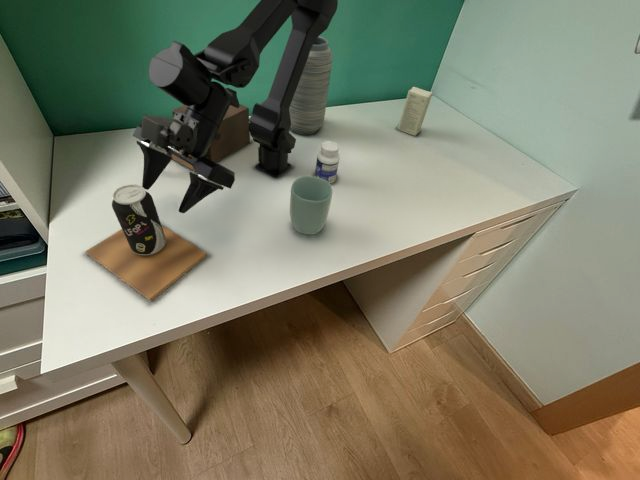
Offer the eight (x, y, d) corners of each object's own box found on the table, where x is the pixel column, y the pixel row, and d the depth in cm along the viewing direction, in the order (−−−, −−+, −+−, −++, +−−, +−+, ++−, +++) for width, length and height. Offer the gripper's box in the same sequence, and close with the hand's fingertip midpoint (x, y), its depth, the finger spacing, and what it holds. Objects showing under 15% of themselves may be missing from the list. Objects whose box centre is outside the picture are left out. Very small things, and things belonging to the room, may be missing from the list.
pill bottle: (313, 170, 82) (317, 138, 75) (334, 171, 82) (340, 140, 76) (315, 183, 78) (319, 151, 72) (336, 184, 79) (343, 152, 72)
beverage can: (173, 246, 59) (157, 194, 50) (142, 263, 56) (120, 211, 47) (155, 229, 61) (137, 177, 52) (125, 245, 58) (100, 191, 49)
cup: (321, 243, 65) (328, 205, 58) (283, 235, 65) (286, 196, 58) (328, 218, 70) (336, 180, 63) (293, 210, 71) (297, 171, 63)
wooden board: (207, 256, 59) (206, 253, 59) (150, 301, 52) (149, 298, 51) (146, 217, 64) (145, 214, 63) (86, 254, 56) (85, 251, 56)
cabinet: (212, 164, 78) (207, 127, 71) (179, 147, 82) (171, 110, 75) (250, 142, 87) (248, 107, 80) (218, 127, 90) (214, 92, 83)
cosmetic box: (419, 131, 103) (434, 92, 94) (414, 136, 100) (429, 97, 92) (401, 124, 105) (413, 85, 96) (396, 129, 102) (408, 90, 93)
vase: (275, 127, 94) (277, 37, 78) (298, 113, 101) (304, 28, 85) (309, 141, 91) (318, 51, 74) (330, 127, 98) (343, 41, 82)
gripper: (125, 73, 50) (83, 164, 51) (213, 116, 44) (163, 218, 45) (178, 107, 60) (141, 182, 62) (254, 145, 55) (213, 227, 56)
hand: (162, 200), depth 56 cm, fingers open, 9 cm apart
